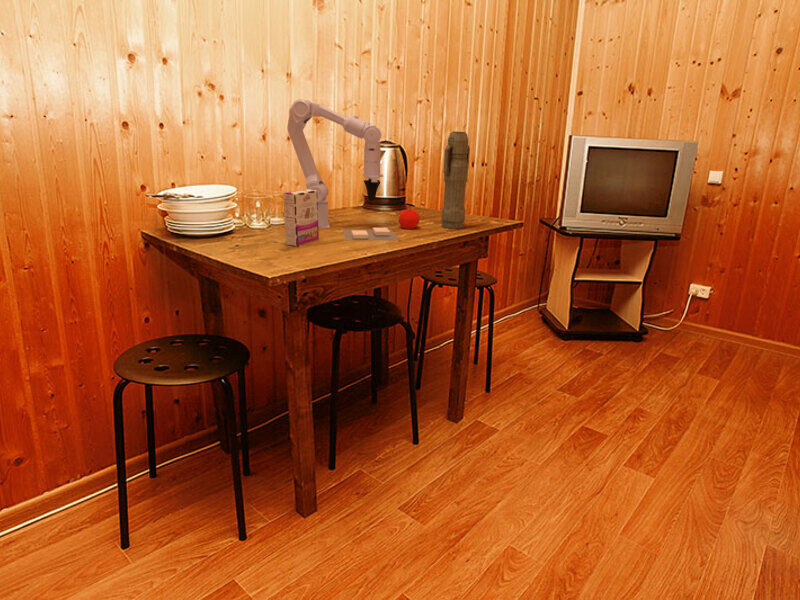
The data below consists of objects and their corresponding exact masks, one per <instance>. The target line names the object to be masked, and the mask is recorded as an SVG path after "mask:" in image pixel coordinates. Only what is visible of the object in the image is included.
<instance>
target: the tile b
mask: <svg viewBox="0 0 800 600" xmlns="http://www.w3.org/2000/svg"><path fill="white" fill-rule="evenodd" d="M372 230H373V232H374V234H375V236H389V235H390V231H389V230H390V229H389V228H388V227H372Z"/></svg>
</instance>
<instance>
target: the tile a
mask: <svg viewBox="0 0 800 600" xmlns="http://www.w3.org/2000/svg"><path fill="white" fill-rule="evenodd" d="M350 230H351V235H352V237H353V239H368V233H367V231H366V230H367V229H350Z"/></svg>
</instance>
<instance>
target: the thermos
mask: <svg viewBox="0 0 800 600" xmlns="http://www.w3.org/2000/svg"><path fill="white" fill-rule="evenodd" d="M468 137H469V136H468V133H467V132H465V131H452V132H450V133H449V135H448V139H447V145H446V146H445V148H444V156H443V157H444V158H443V181H444V194H443V205H442V208H441V216H440V217H441V218H440V219H441V225H440V226H441V228H443V229H447V228H448V229H449V230H461V228H462V229H464V228H465V226H464V225H465V220H466V219H465V218H466V208H465V200H466V186H467V185H466V184H467V181H468V176H469V163H470V154H471V153H470V152H471V151H470V150H471V149H470V146H469V138H468Z"/></svg>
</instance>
